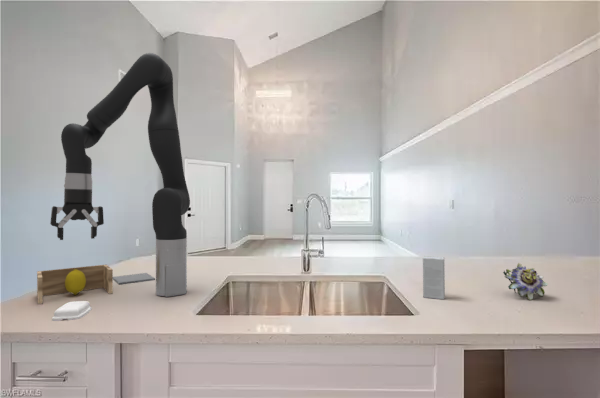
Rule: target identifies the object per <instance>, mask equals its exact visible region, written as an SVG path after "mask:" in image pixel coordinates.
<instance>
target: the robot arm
mask: <svg viewBox="0 0 600 398" xmlns="http://www.w3.org/2000/svg"><path fill="white" fill-rule="evenodd" d="M173 76H174V75H173V71H172V69H171V67H170V65H169V64H168V63H167V62H166V61H165V60H164V59H163V58H162V57H160V55H158V54H156V53H154V52H146V53H144V54H142V55H141V56H139V57H138V58H137V59H136V61H135V62H134V63H133V64H132V65H131V67H130V68H129V69H128V71H127V72H126V73H125V74H124V76H123V77H122V78H121V79H120V81H118V83H117V84H116V85H115V86H114V88H112V89H111V91H110V92H109V93H107V95H106V96H105V97H103V98H102V100H100V101H98V103H96V104H95V106H94V107H92V108H91V109H90V110H89V111H88V112H87V114H86V119H87V121H86V123H85V124H84V125H82V124H79V123H68V124H66V125H65V126H64V127H63V129H62V131H61V134H60V135H61V137H60V139H61V140H60V141H61V145H62V149H63V154H64V157H65V177H64V185H63V187H64V188H63V189H64V190H63V191H64V193H63V194H64V196H63V198H64V199H63V206H55V205H53V206H52V207H51V215H50V223H49V224H50V225H51V226H53V227H55V228H56V229H57V234H56V236H57V238H58V239H59V241H64V226H65V225H66V224H67V223H68V222H69V221H70V220H71V221H77V220H80V221H85V220H86V221H88V223H89V224H90V225H91V227H90V238H91V240H92V239H93V240H94V239H95V238H96V237H97V233H98V226H102V225H104V224H105V222H104V208H103V206H93V177H92V174H93V173H92V171H93V170H92V169H93V168H92V167H93V166H92V165H93V163H92V159H91V157H90V156H88V155H87V152H86V149H90V148H92V147H94V146H95V145H96V144H97V143H98V142H99V141H100V140H101V138H102V137H103V136H104V134H105V133H106V131H107V130H108V128H110V127H111V126H112V125H114V123H115V122H116V121H118V120H119V119H120V118H121V117H122V116H123V115H124V114H125V112H126V111H127V108H128V107H129V105H130V103H131V101H132V100H133V98H134V97H135V95H136V94H137V93H138V92H139V91H140V90H142V89H143V88H145V87H146V86H147V88H148V91H149V96H150V106H151V107H150V113H149V119H148V121H147V133H148V142H149V147H150V151H151V154H152V156H153V158H154V160H155V162H156V164H157V166H158V169H159V170H160V173H161V174H160V175H161V177H162V185H163V187H162V188H160V189H159V190H157V191H156V192H155V194H154V196H153V199H152V203H151V205H152V207H151V208H152V209H151V210H152V212H151V213H152V227H153V231H154V233H155V294H156V295H157V296H160V297H165V298H169V297H175V296H180V295H181V296H182V295H186V294H187V292H188V291H187V289H188V285H187V281H188V279H187V277H188V275H187V273H188V270H187V269H188V267H187V266H188V265H187V261H188V260H187V255H188V254H187V253H188V252H187V249H188V248H187V245H188V244H187V242H188V241H187V239H188V238H187V237H188V235H187V234H188V233H187V229H186V228H185V227H184V225H183V220H182V216H183V215H185V214H186V213H187V212H188V211H189V209H190V205H191V199H190V194H189V189H188V185H187V181H186V177H185V173H184V172H185V171H184V166H183V165H184V164H183V156H182V148H181V147H182V146H181V140H180V132H179V127H178V121H177V113H176V108H175V102H174V77H173ZM61 211H62V212H63V213H64V214H65V215H64V216H63V218H62V219H61V220H60V221H59V222H57V217H58V215H59V214H60V213H61ZM93 212H95V214H97V221H95V219H94V218H93V217H92V216H91V214H92V213H93Z"/></svg>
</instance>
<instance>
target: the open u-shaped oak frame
mask: <svg viewBox="0 0 600 398" xmlns="http://www.w3.org/2000/svg"><path fill="white" fill-rule="evenodd" d="M74 269H77V270H79V271H81V272H83V273H84V275H85V278H86V285H85V287H84V289H83V290H82V291H88V290H89V289H90V290H95V289H104V290H105V291H106V292H107V293H108V295H111V294H112V295H113V292H114V291H113V289H114V288H113V286H114V285H113V281H114V279H113V277H114V276H113V275H114V274H113V269H112V268H111V267H110V266H109V265H108V264H98V265H89V266H78V267H68V268H59V269H58V268H57V269H48V270H39V271H38V270H37V271H36V297H37V304H38V305H42V304H43V297H44V296H52V295H59V294H66V293H69V292H68V291H67V289H66V287H65V279H66V276H67V275H68V274H69V273H70V272H71V271H73V270H74Z"/></svg>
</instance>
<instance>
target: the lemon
mask: <svg viewBox="0 0 600 398" xmlns="http://www.w3.org/2000/svg"><path fill="white" fill-rule="evenodd" d="M85 285H86V278H85V275H84V273H83V272H81V271H79V270H77V269H74V270H73V271H71V272H70V273H69V274H68V275H67V276H66V279H65V287H66V289H67V291H68V292H67V293H71V294H73V295H74V296H76V295H78V294H79V293H80V292H82V291H84V290H83V289H84V287H85Z"/></svg>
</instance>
